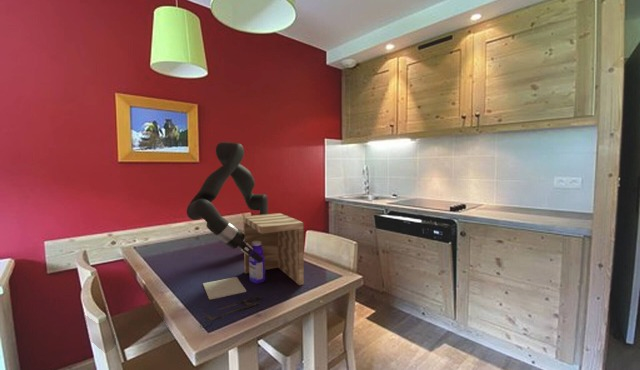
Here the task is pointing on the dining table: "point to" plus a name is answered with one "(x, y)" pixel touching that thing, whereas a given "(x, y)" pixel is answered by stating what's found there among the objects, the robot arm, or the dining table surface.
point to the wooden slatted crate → (277, 243)
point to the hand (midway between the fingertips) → (258, 257)
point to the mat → (223, 288)
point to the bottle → (257, 264)
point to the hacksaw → (236, 309)
